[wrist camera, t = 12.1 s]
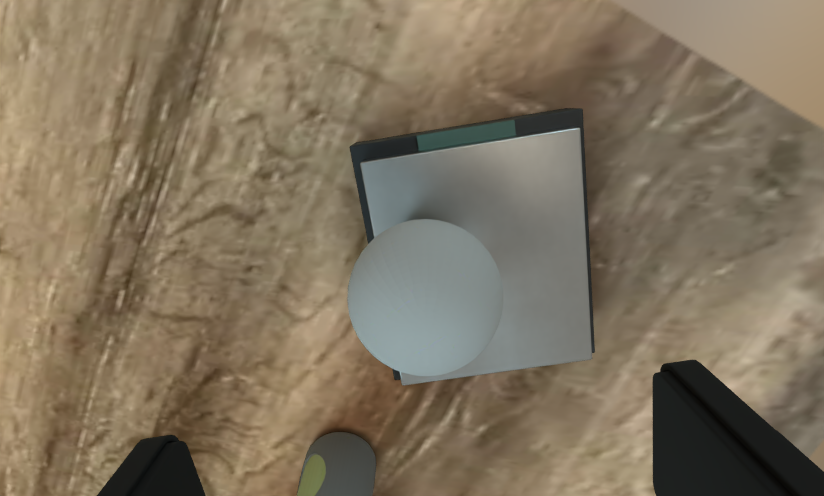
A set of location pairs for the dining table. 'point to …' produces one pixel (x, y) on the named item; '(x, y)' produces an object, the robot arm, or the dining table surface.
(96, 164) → the dining table surface
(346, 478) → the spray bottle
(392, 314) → the light bulb
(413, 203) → the scale
